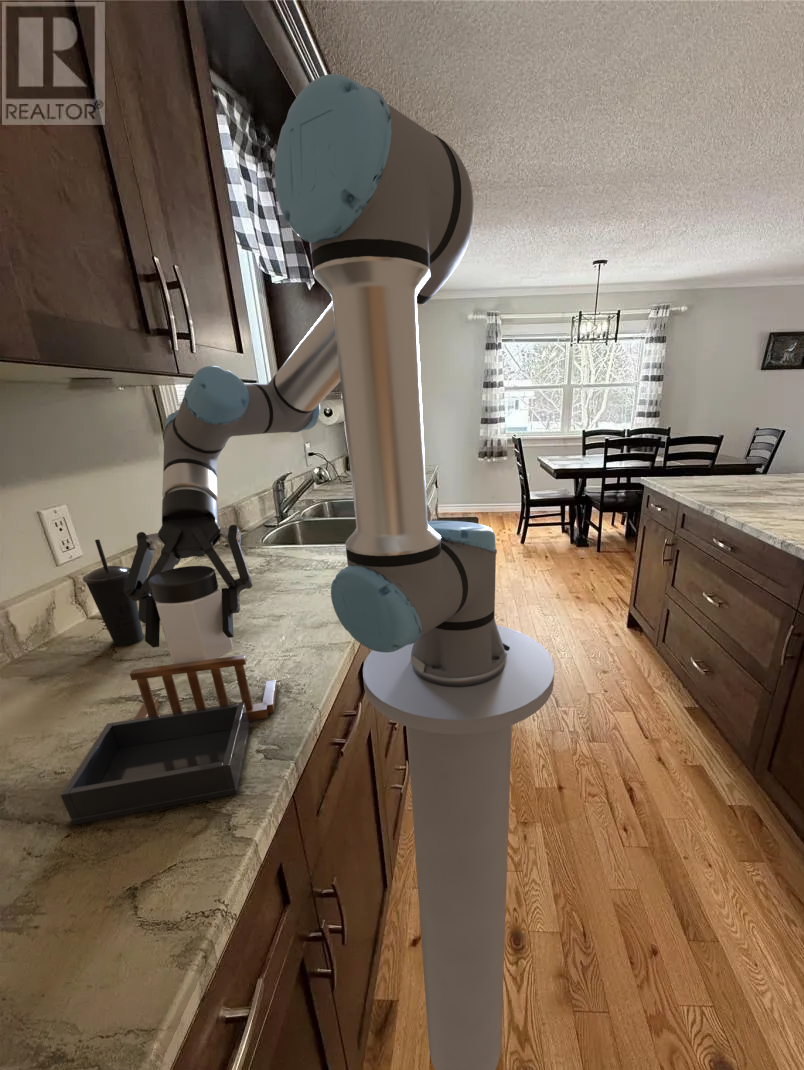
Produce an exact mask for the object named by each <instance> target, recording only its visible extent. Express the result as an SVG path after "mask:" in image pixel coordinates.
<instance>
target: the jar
mask: <svg viewBox="0 0 804 1070" xmlns="http://www.w3.org/2000/svg"><path fill="white" fill-rule="evenodd" d="M149 586H150V587H149V588H150V591H151V594H152V596H153V599H154V600H155V603H156V606H157V610H158V613H159V617H160V625H161V627H162V632H163V633H164V634H163V635H164V638H165V641H166V644H167V649H168V652H169V656H170V659H171V662H172V664H179V663H187V662H194V661H202V660H209V659H217V658H222V657H223V656H224V655H225V656H226V655H227V654H228V653H230V652H232V651H233V650H234V645H233V641H232V637H230V638H228V637H227V636H226V635H225V634H224V632H223V622H222V591H220V589H219V583H218V579H217V575H216V569H215V568H213V567H211V566H207V565H188V566H180V567H174V568H173V569H170V570H167V571H164V572H161V573H158V574H156V575H154V576H153V577H151V578H150V579H149Z"/></svg>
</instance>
